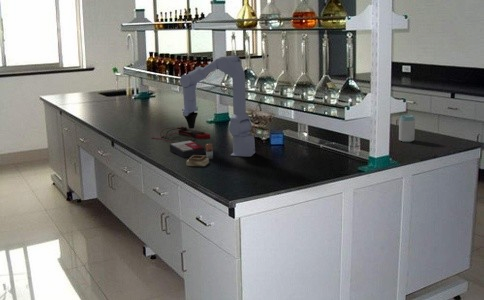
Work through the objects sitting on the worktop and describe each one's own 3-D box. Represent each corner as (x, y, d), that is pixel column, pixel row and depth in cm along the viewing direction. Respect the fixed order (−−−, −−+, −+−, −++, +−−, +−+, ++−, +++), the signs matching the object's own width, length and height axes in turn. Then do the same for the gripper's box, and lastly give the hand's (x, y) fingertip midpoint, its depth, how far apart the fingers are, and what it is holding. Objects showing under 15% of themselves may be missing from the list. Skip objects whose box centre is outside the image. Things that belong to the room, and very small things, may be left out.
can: (408, 143, 260) (409, 117, 257) (395, 141, 266) (396, 116, 263) (417, 140, 264) (418, 115, 262) (404, 138, 270) (405, 113, 267)
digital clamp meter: (184, 123, 306) (213, 129, 288) (185, 132, 307) (213, 138, 289) (148, 130, 291) (175, 137, 273) (148, 139, 292) (176, 146, 274)
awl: (213, 157, 248) (213, 143, 247) (211, 159, 245) (210, 145, 244) (207, 157, 249) (206, 143, 247) (205, 159, 246) (204, 145, 245)
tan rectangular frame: (208, 162, 240) (208, 155, 240) (204, 166, 235) (204, 158, 234) (191, 162, 243) (190, 154, 242) (186, 165, 237) (186, 158, 237)
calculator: (182, 150, 250) (169, 142, 262) (183, 159, 251) (169, 151, 264) (204, 146, 255) (190, 139, 268) (205, 155, 257) (190, 148, 269)
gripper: (187, 97, 271) (189, 125, 274) (175, 102, 257) (177, 131, 261) (201, 97, 269) (202, 125, 272) (190, 102, 255) (192, 131, 259)
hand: (191, 128), depth 266 cm, fingers closed
